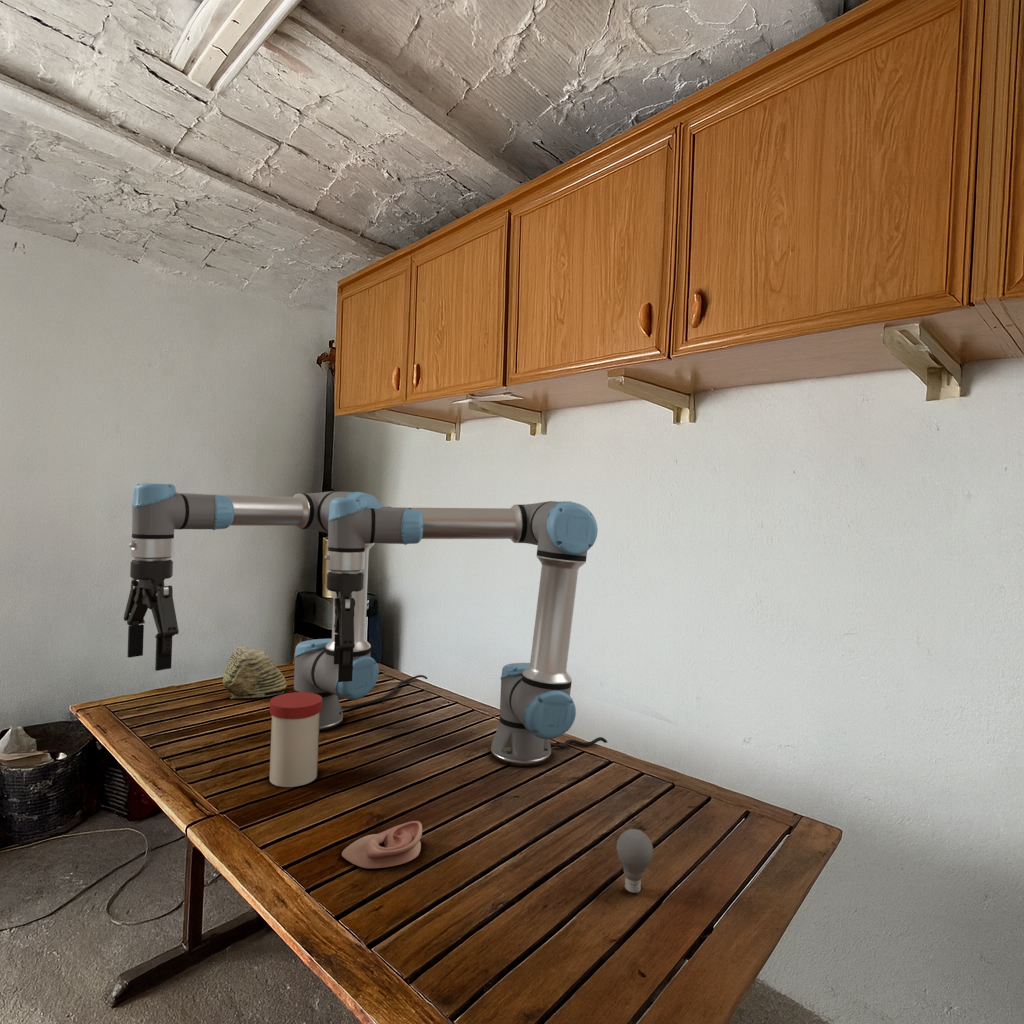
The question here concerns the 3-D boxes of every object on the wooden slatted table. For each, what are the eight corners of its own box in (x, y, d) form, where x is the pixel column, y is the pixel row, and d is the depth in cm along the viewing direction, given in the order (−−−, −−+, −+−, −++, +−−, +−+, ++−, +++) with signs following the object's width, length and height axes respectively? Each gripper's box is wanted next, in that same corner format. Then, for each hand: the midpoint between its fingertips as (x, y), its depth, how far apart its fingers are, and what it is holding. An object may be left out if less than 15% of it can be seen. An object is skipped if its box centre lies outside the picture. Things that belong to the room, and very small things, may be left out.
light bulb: (610, 879, 108) (613, 822, 108) (644, 879, 109) (647, 822, 109) (619, 902, 102) (622, 840, 102) (655, 901, 103) (658, 840, 103)
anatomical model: (334, 840, 110) (362, 809, 121) (333, 863, 110) (362, 830, 121) (406, 852, 107) (429, 819, 118) (405, 875, 107) (428, 840, 118)
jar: (264, 787, 137) (267, 709, 136) (274, 767, 147) (276, 694, 146) (314, 786, 138) (317, 708, 138) (320, 766, 149) (322, 694, 148)
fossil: (218, 695, 195) (220, 647, 195) (278, 685, 208) (279, 640, 207) (228, 703, 189) (230, 653, 188) (289, 692, 201) (290, 645, 201)
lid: (264, 719, 136) (265, 708, 136) (275, 702, 147) (275, 692, 147) (318, 718, 138) (319, 707, 138) (324, 702, 149) (325, 691, 149)
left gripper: (108, 554, 134) (104, 654, 134) (159, 565, 118) (155, 678, 119) (146, 552, 140) (143, 648, 140) (199, 563, 124) (195, 671, 124)
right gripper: (324, 564, 143) (321, 658, 144) (330, 579, 120) (327, 690, 120) (358, 564, 146) (355, 656, 146) (371, 579, 122) (367, 688, 123)
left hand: (148, 662), depth 129 cm, fingers open, 13 cm apart
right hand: (342, 672), depth 133 cm, fingers open, 13 cm apart
